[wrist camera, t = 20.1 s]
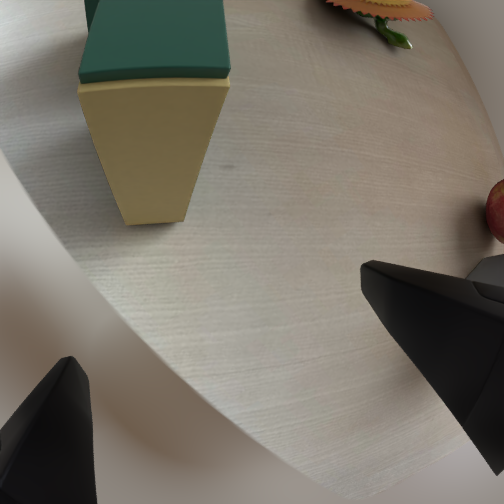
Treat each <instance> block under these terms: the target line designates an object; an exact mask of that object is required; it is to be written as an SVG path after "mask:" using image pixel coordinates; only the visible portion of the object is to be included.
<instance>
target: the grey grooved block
mask: <svg viewBox="0 0 504 504" xmlns="http://www.w3.org/2000/svg"><path fill="white" fill-rule="evenodd" d="M466 279H467V280H471V281H477V282H482V283H486V284H492V285H497V286H503V287H504V254H501V255H496V256H491V257H486V258H483V260H482V261H481V262H480V263H479V264H478V265H477V267H476V268H475V269H474V270H473V271H472V272H471V273H470V274H469V276H468V277H467V278H466Z"/></svg>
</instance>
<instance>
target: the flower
mask: <svg viewBox="0 0 504 504" xmlns="http://www.w3.org/2000/svg"><path fill="white" fill-rule="evenodd" d="M326 2H334V6H337V5H342V7H343V9H349V8H351V9H352V10H353V12H356V13H357V14H358V15H360V16H362V17H368V18H373V19H374V22H375V27H376V29H377V30H378V31H379V32H380V33H381V34H382V35H384V36H386V37H387V40H388V43H389V44H392V45H394V46H397V47H401V48H404V49H411V48H413V46H412V44H411V43H410V41H409V39H408V38H407V36H406V35H404V34H402V33H400V32H397V31H394V30H392V29H390V28H389V27H388V26H387V22H388V21H396V20H400V21H402V20H401V18H403V19H405V20H407V21H409V20H408V18H409V19H411V20H413V21H415V20H414V18H415V19H417V20H419V21H421V20H420V18H422V19H424V20H426V21H427V19H426V18H425V17H427V18H429V19H432V18H431V17H429V16H432V17H434V16H433V15H431V14H430V13H432V12H430V11H429V10H431V9H429V8H427V7H428V6H425V5H424V4H422V3H419V2H416V1H414V0H328V1H326ZM432 14H433V13H432ZM428 15H429V16H428ZM419 17H420V18H419ZM432 20H433V19H432ZM415 22H416V21H415Z"/></svg>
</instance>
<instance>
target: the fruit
mask: <svg viewBox="0 0 504 504" xmlns="http://www.w3.org/2000/svg"><path fill="white" fill-rule="evenodd" d="M486 221H487V224H488V226H489V229H490V231H491V232H492V234H493V235H494V236H495V237H496V239H497V240H499V241H500V242H501V243H503V244H504V179H503V180H501V181H500V182H498V183H497V184H496V185H495V186H494V187H493V188H492V189H491V191H490V193H489V196H488V199H487V203H486Z"/></svg>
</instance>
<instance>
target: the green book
mask: <svg viewBox="0 0 504 504" xmlns="http://www.w3.org/2000/svg"><path fill="white" fill-rule="evenodd" d="M230 69H231V66H230V57H229V49H228V40H227V32H226V23H225V15H224V6H223V0H100V1H99V3H98V6H97V9H96V12H95V15H94V18H93V21H92V24H91V27H90V31H89V34H88V37H87V41H86V45H85V48H84V52H83V56H82V60H81V64H80V68H79V72H78V75H79V79H80V82H79V85H78V90H77V94H78V97H79V100H80V104H81V107H82V110H83V113H84V116H85V119H86V122H87V125H88V128H89V131H90V134H91V137H92V140H93V143H94V146H95V148H96V151H97V154H98V157H99V159H100V162H101V165H102V167H103V170H104V173H105V175H106V178H107V180H108V183H109V185H110V188H111V190H112V193H113V195H114V198H115V200H116V203H117V205H118V208H119V210H120V212H121V215H122V217H123V219H124V222H125V224H126V225H140V224H154V223H168V222H183V221H184V218H185V215H186V212H187V209H188V205H189V202H190V199H191V196H192V193H193V189H194V186H195V183H196V180H197V177H198V174H199V171H200V168H201V165H202V162H203V159H204V156H205V153H206V150H207V147H208V145H209V142H210V139H211V136H212V133H213V131H214V128H215V125H216V122H217V119H218V117H219V114H220V111H221V109H222V106H223V103H224V101H225V98H226V95H227V93H228V90H229V88H230V82H229V76H228V74H229V72H230Z"/></svg>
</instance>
